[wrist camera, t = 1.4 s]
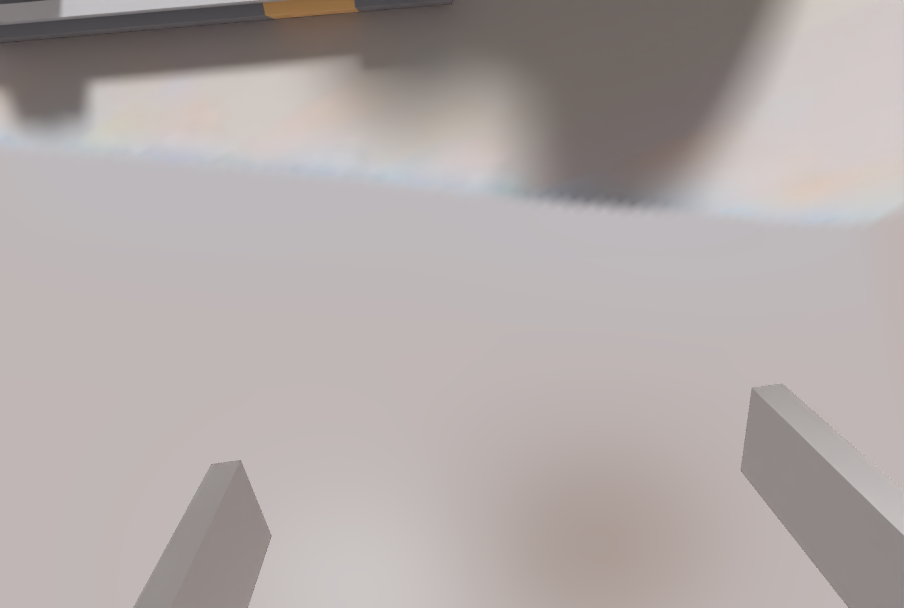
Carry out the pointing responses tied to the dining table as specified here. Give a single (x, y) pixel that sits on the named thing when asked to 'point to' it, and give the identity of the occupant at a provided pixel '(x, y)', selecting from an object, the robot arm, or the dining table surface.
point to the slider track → (162, 14)
